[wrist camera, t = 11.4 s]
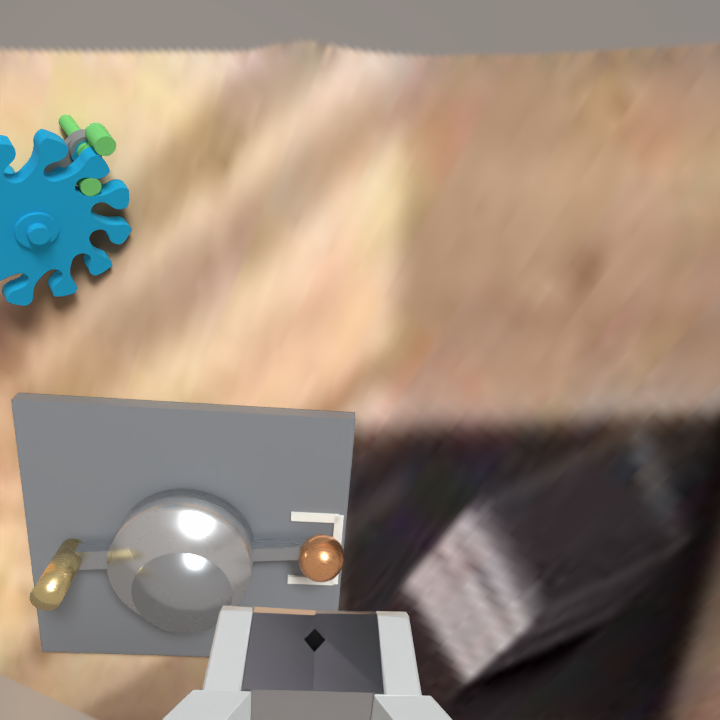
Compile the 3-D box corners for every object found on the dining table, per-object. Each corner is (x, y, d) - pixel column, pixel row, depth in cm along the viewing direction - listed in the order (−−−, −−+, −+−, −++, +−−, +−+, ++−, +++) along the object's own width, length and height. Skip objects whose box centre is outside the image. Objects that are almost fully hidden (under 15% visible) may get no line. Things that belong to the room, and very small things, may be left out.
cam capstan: (47, 492, 41) (14, 537, 37) (342, 483, 42) (344, 526, 37) (73, 609, 44) (45, 662, 40) (345, 599, 45) (346, 650, 41)
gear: (50, 336, 37) (-132, 261, 28) (17, 273, 40) (-158, 187, 31) (186, 203, 36) (43, 83, 27) (143, 148, 39) (0, 22, 30)
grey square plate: (354, 412, 41) (355, 420, 40) (333, 649, 48) (333, 662, 47) (18, 392, 40) (9, 401, 39) (47, 640, 47) (40, 653, 46)
